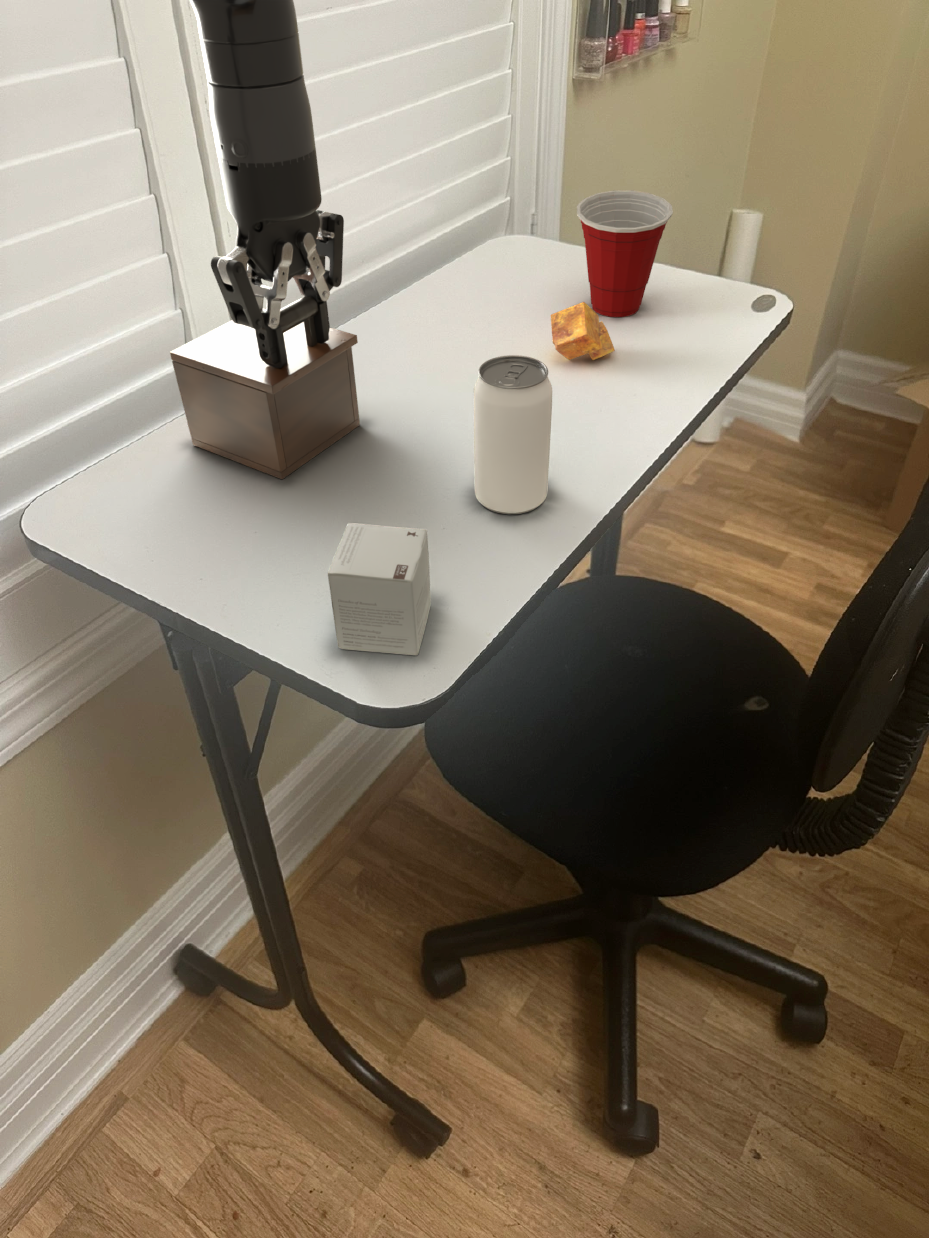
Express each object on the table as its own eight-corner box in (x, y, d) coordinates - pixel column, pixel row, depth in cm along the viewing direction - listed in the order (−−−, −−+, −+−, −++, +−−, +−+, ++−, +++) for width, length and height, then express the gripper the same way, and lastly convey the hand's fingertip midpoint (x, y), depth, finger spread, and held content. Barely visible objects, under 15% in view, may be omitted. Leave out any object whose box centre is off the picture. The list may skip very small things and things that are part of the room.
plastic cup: (561, 322, 107) (567, 217, 99) (579, 287, 115) (586, 187, 107) (653, 332, 105) (666, 225, 97) (665, 295, 113) (679, 193, 104)
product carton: (356, 597, 71) (346, 520, 66) (432, 603, 70) (428, 526, 65) (337, 651, 66) (325, 572, 61) (419, 658, 65) (413, 579, 60)
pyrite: (578, 341, 103) (581, 373, 102) (550, 313, 98) (551, 347, 97) (618, 325, 101) (621, 358, 100) (591, 296, 95) (593, 331, 94)
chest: (360, 425, 90) (351, 341, 84) (282, 479, 83) (266, 392, 77) (273, 395, 95) (259, 315, 89) (192, 445, 88) (171, 360, 82)
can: (464, 508, 79) (461, 383, 71) (488, 470, 84) (488, 348, 76) (535, 522, 77) (540, 395, 69) (555, 483, 82) (563, 359, 74)
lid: (358, 343, 84) (352, 287, 81) (273, 394, 77) (263, 336, 73) (259, 314, 89) (249, 261, 86) (171, 360, 82) (157, 304, 79)
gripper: (291, 118, 75) (317, 315, 87) (161, 161, 67) (209, 375, 78) (362, 129, 72) (379, 332, 84) (235, 177, 63) (274, 396, 75)
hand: (297, 352), depth 81 cm, fingers closed on lid, 5 cm apart
